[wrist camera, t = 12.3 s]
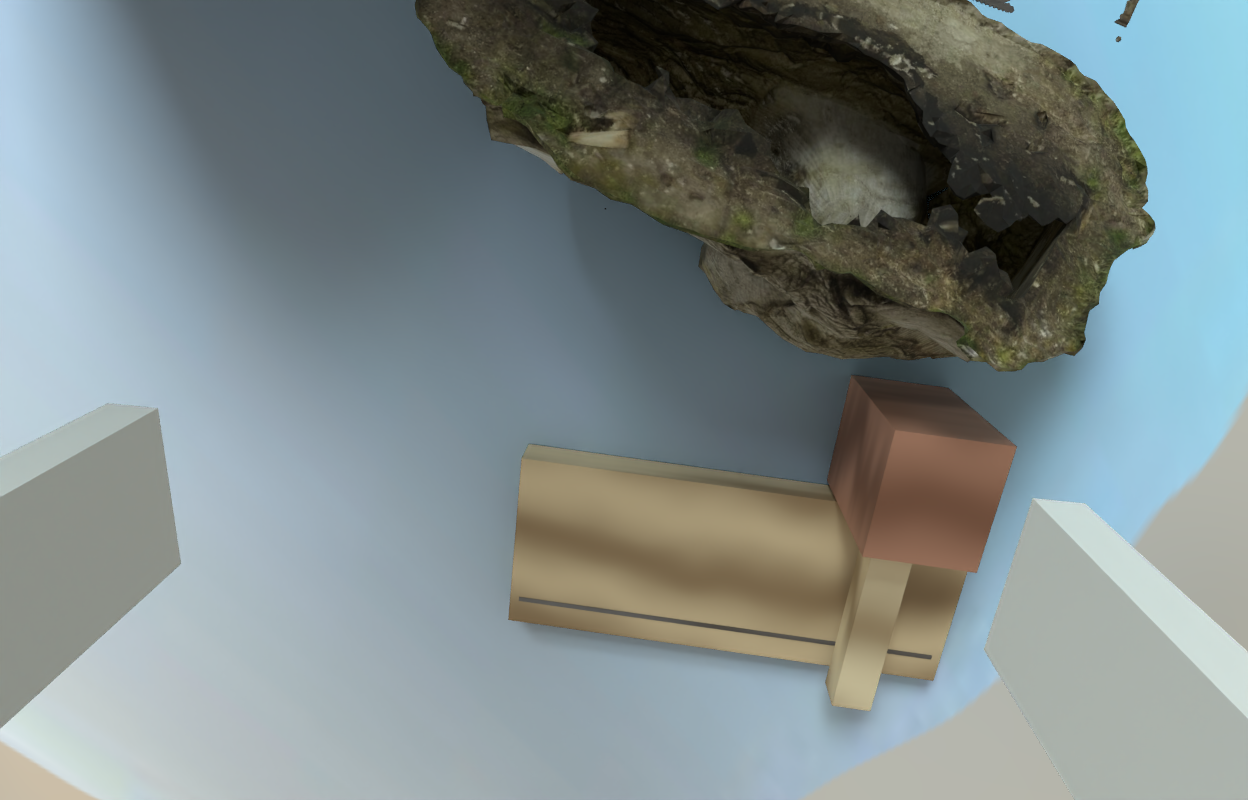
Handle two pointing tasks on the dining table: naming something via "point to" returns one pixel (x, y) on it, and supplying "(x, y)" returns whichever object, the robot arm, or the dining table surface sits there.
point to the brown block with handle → (906, 509)
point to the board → (703, 561)
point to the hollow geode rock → (831, 158)
